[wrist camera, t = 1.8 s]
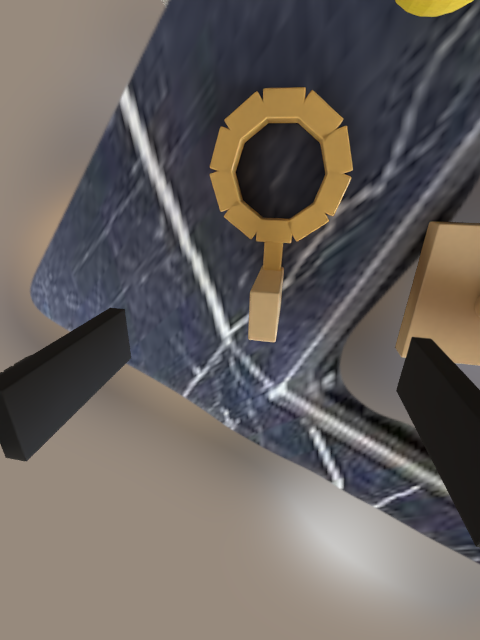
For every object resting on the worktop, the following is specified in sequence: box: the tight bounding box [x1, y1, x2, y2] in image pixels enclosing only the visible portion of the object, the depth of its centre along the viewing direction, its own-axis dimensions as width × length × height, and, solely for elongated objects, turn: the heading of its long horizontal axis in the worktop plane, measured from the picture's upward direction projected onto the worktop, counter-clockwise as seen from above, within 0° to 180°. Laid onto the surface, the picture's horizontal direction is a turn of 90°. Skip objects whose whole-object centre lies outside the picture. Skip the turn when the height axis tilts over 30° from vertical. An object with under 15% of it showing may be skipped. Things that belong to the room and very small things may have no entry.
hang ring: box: [210, 87, 353, 342], centre depth 17 cm, size 13×8×6 cm, turn 179°
